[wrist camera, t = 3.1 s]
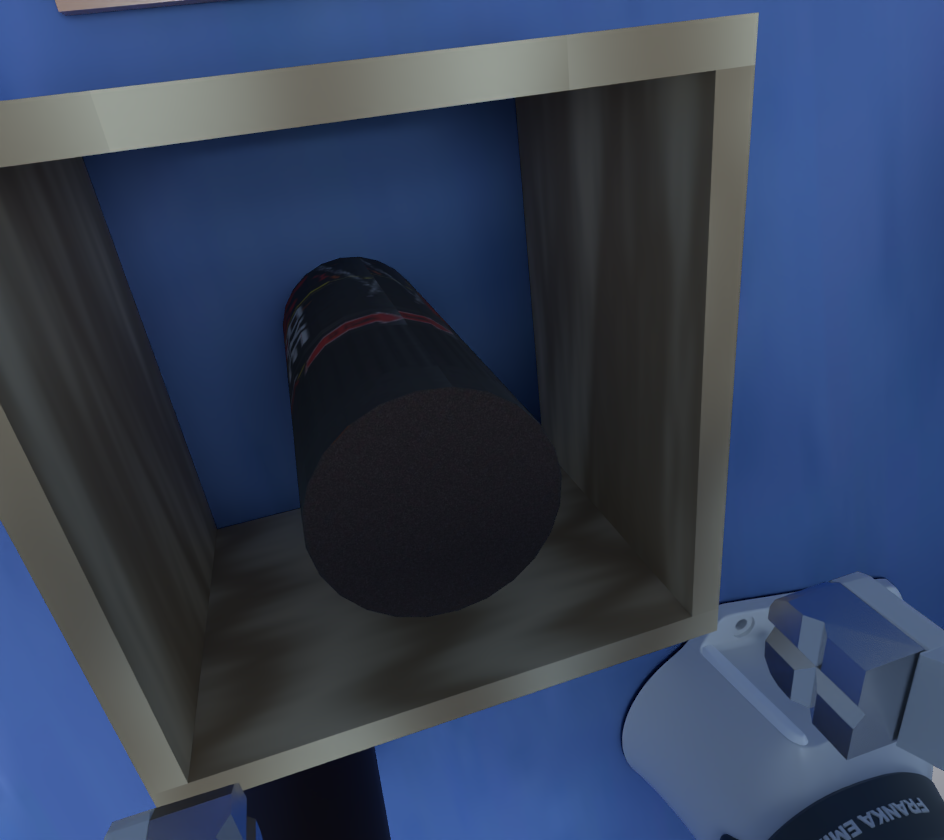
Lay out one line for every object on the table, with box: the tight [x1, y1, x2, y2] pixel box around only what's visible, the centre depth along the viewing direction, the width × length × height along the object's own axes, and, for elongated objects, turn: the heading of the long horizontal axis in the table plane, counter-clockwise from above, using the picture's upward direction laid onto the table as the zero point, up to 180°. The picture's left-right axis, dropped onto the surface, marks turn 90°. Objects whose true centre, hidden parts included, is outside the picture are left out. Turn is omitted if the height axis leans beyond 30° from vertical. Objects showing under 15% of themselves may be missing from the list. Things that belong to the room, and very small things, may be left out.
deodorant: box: [283, 257, 562, 617], centre depth 21 cm, size 6×6×15 cm
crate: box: [0, 13, 759, 807], centre depth 22 cm, size 18×18×13 cm
